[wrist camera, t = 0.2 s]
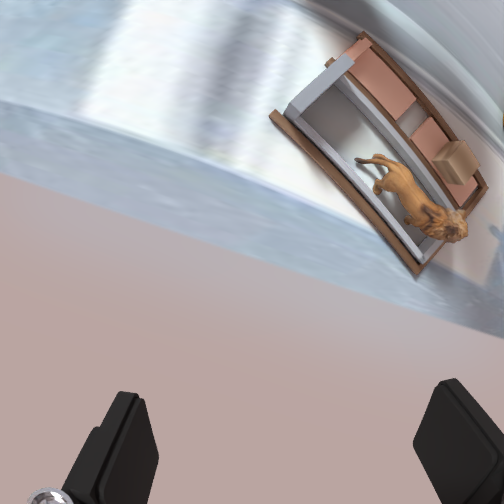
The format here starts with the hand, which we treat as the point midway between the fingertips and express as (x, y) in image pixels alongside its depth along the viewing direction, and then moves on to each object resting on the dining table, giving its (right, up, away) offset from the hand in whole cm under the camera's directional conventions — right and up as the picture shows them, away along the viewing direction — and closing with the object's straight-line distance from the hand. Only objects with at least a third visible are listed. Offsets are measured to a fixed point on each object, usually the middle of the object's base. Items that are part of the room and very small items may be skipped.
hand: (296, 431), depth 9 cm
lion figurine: (+18, +13, +29) cm, 36 cm away
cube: (+25, +17, +27) cm, 40 cm away
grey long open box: (+14, +16, +28) cm, 35 cm away
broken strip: (+20, +22, +26) cm, 40 cm away
